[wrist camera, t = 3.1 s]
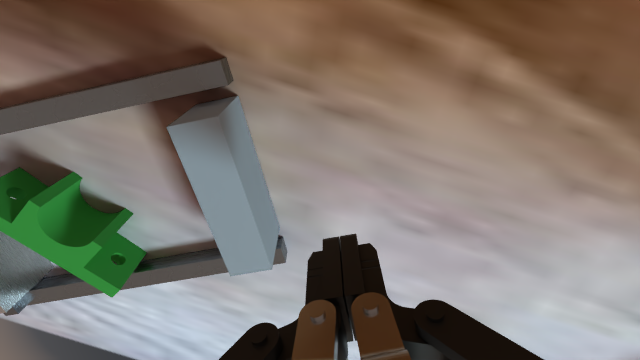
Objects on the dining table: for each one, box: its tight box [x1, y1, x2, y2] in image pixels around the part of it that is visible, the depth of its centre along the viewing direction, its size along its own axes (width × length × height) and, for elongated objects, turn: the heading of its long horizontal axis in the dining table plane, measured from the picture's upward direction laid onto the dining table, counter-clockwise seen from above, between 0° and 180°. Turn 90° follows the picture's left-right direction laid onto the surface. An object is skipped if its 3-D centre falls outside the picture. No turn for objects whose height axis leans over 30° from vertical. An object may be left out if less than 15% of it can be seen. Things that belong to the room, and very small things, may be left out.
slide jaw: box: [167, 96, 280, 276], centre depth 23 cm, size 11×3×5 cm, turn 12°
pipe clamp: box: [0, 167, 147, 297], centre depth 25 cm, size 11×4×5 cm, turn 44°
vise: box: [0, 57, 287, 316], centre depth 24 cm, size 16×25×5 cm, turn 102°
